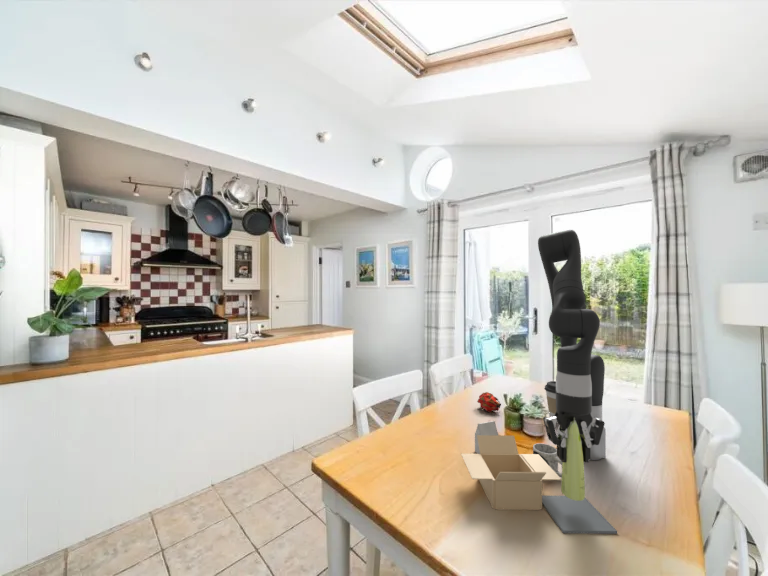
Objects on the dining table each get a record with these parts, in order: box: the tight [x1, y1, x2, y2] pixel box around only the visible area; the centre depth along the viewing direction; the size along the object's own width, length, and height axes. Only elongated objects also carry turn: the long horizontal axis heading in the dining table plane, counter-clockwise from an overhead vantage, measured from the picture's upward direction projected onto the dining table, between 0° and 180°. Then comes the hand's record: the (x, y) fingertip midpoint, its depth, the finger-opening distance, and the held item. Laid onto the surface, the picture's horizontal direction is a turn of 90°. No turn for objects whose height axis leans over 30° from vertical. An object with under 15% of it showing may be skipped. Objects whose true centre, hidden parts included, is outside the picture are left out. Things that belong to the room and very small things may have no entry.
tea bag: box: [474, 420, 500, 454], centre depth 105 cm, size 4×7×10 cm, turn 110°
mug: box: [532, 442, 563, 479], centre depth 93 cm, size 10×7×7 cm
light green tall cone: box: [560, 418, 586, 501], centre depth 76 cm, size 6×5×20 cm
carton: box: [460, 435, 562, 511], centre depth 84 cm, size 22×19×11 cm
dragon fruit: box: [476, 391, 502, 414], centre depth 142 cm, size 8×8×12 cm
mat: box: [542, 494, 618, 535], centre depth 76 cm, size 12×12×1 cm
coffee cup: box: [543, 380, 556, 418], centre depth 132 cm, size 11×11×15 cm
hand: (573, 460), depth 76 cm, fingers closed on light green tall cone, 4 cm apart
